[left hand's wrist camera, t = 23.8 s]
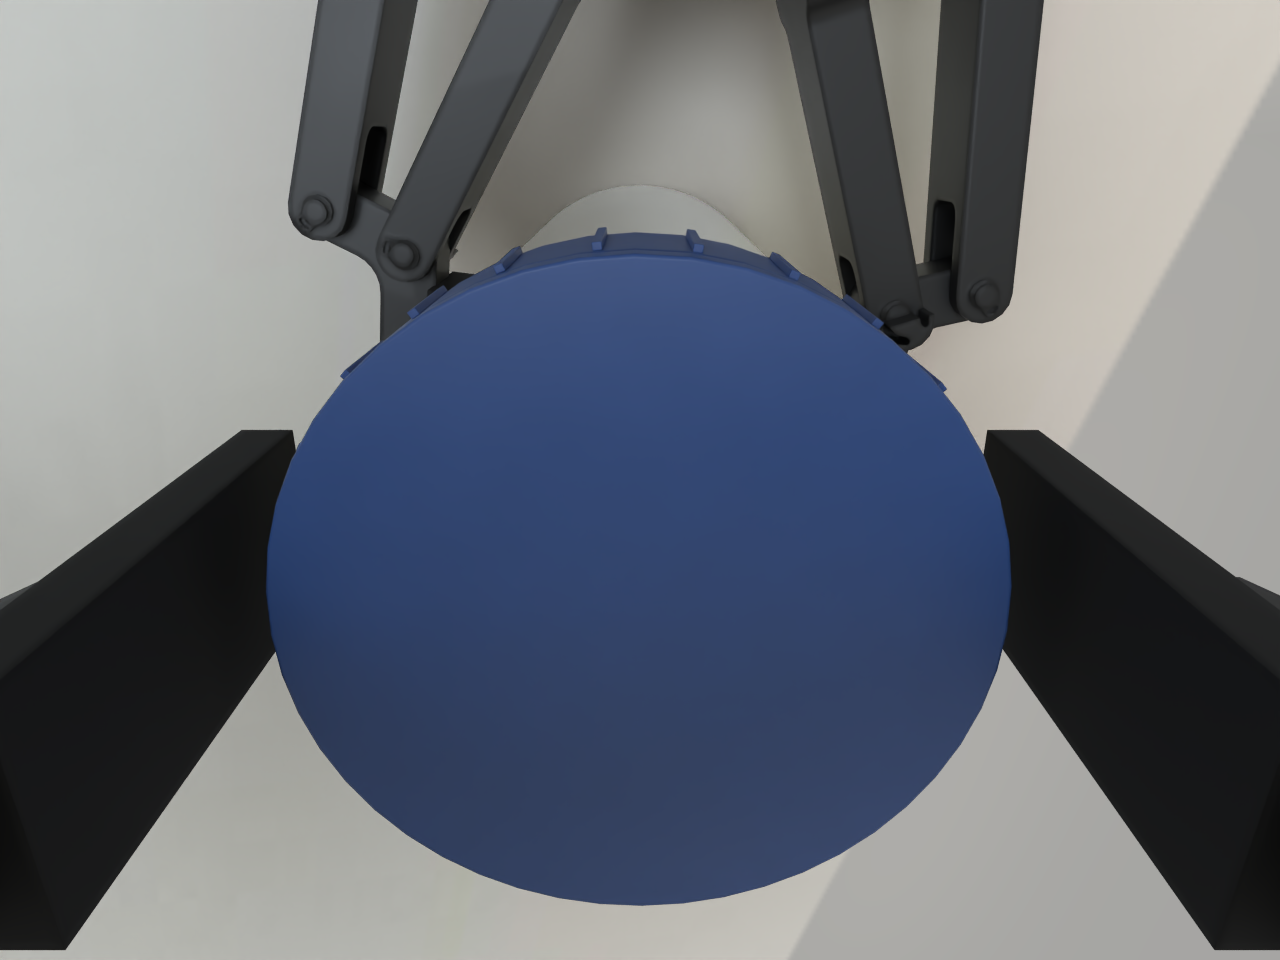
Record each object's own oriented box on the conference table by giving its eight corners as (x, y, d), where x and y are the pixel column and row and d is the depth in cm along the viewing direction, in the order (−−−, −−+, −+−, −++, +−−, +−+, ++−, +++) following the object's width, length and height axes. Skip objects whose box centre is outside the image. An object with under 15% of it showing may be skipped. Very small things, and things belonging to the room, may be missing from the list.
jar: (776, 182, 25) (1000, 263, 9) (764, 444, 28) (920, 831, 12) (499, 186, 25) (268, 273, 9) (517, 447, 28) (365, 836, 12)
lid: (1082, 383, 11) (1174, 434, 9) (786, 865, 14) (808, 980, 12) (427, 104, 10) (377, 98, 8) (258, 699, 13) (191, 797, 11)
